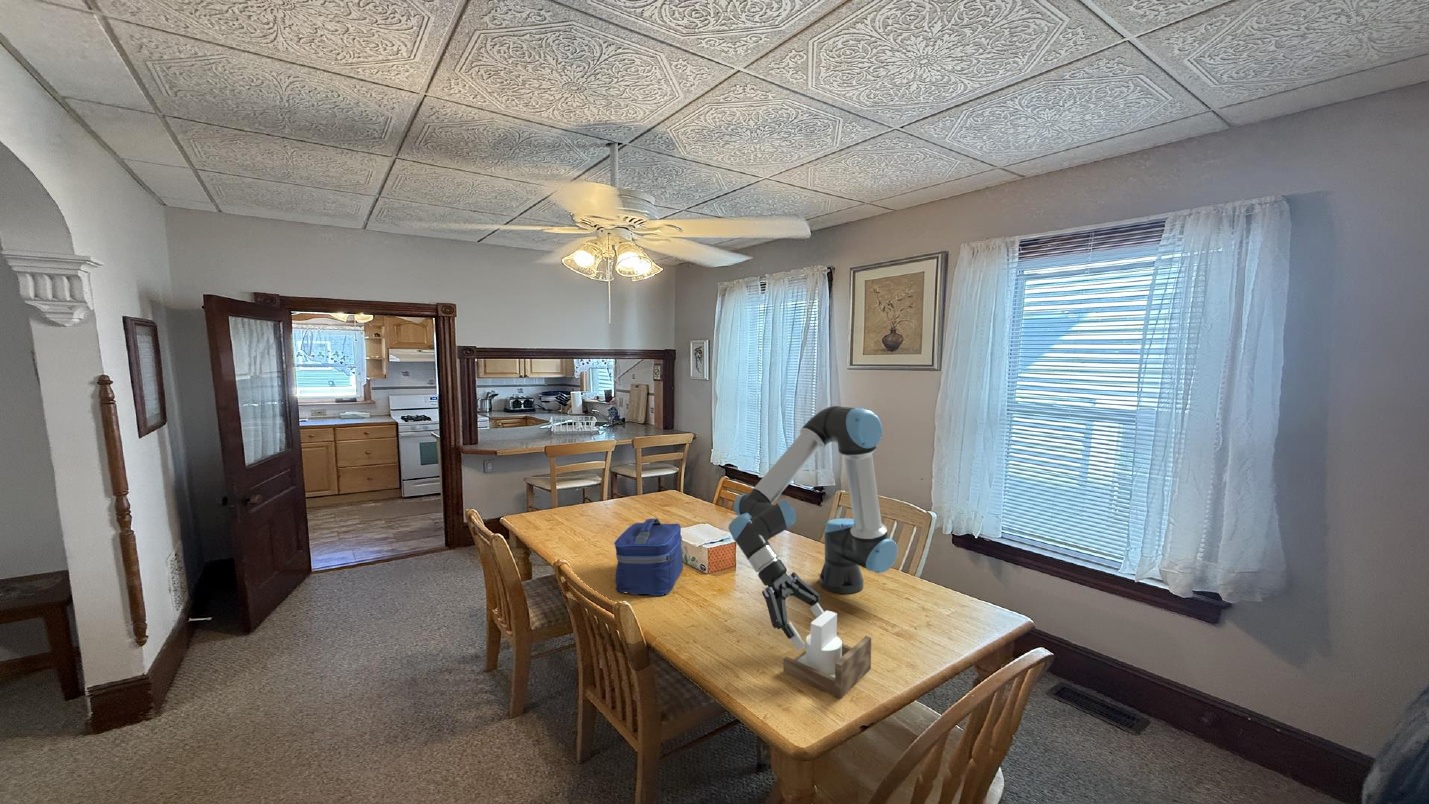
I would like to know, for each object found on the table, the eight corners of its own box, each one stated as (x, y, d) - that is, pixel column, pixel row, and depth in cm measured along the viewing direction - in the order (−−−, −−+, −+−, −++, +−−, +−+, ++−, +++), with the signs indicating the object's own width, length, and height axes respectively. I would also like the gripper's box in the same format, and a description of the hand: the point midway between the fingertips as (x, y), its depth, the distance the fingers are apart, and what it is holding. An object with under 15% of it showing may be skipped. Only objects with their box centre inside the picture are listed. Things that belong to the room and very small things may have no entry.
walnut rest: (816, 646, 144) (816, 617, 144) (870, 668, 134) (871, 637, 133) (783, 672, 132) (783, 641, 132) (840, 698, 122) (841, 665, 121)
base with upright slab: (816, 649, 140) (816, 606, 139) (847, 661, 134) (848, 616, 133) (799, 665, 133) (799, 619, 132) (831, 678, 127) (832, 631, 126)
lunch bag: (635, 561, 207) (634, 510, 206) (687, 563, 205) (686, 512, 203) (610, 595, 177) (609, 536, 175) (671, 598, 174) (670, 538, 173)
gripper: (784, 559, 154) (829, 625, 146) (732, 587, 136) (780, 664, 127) (800, 546, 151) (847, 612, 142) (748, 573, 132) (799, 651, 123)
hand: (815, 637), depth 134 cm, fingers open, 13 cm apart
